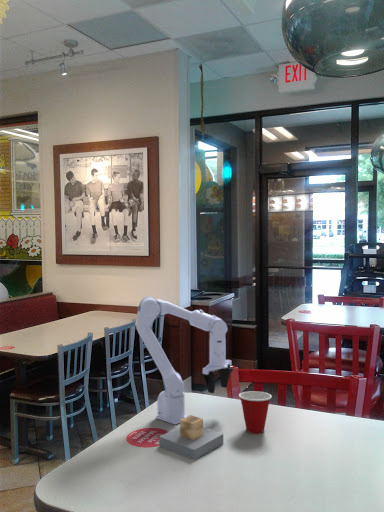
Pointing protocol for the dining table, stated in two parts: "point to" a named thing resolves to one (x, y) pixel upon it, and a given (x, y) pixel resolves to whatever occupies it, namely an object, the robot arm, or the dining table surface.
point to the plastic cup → (255, 410)
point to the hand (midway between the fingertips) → (217, 389)
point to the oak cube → (191, 427)
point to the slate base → (191, 443)
